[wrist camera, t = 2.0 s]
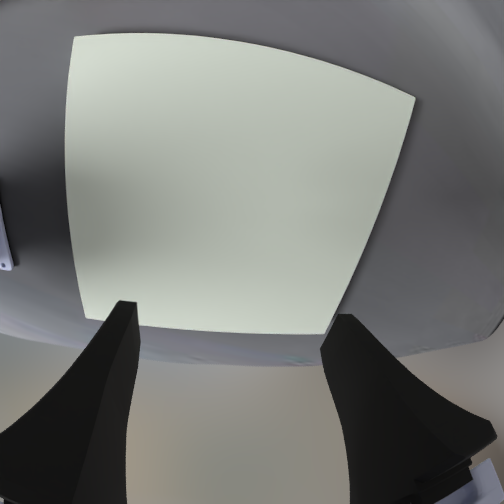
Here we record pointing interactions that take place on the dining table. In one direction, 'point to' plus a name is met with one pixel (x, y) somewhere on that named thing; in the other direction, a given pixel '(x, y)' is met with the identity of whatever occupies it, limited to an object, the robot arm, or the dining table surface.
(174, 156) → the board
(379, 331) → the dining table surface
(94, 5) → the dining table surface
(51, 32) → the dining table surface
